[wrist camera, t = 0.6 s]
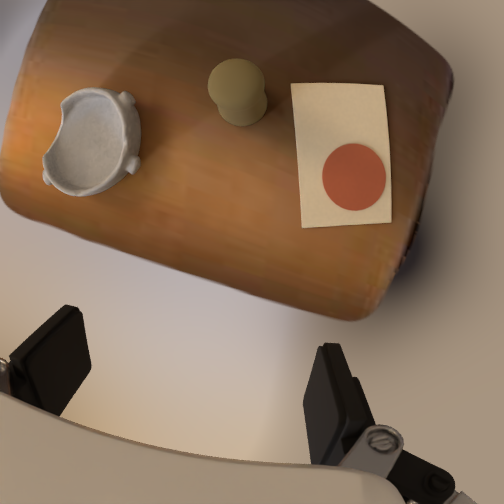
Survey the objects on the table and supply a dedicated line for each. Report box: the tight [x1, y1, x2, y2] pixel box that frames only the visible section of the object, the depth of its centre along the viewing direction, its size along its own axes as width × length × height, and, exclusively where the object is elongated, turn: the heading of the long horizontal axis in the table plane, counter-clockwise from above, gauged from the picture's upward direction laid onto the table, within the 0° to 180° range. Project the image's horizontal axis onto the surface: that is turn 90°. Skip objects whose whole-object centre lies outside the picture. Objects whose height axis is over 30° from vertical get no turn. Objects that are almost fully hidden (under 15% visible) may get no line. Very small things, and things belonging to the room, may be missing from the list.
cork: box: [208, 58, 267, 126], centre depth 29 cm, size 6×6×11 cm
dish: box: [43, 87, 141, 196], centre depth 33 cm, size 14×14×5 cm
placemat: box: [291, 83, 391, 228], centre depth 35 cm, size 18×12×1 cm, turn 5°
